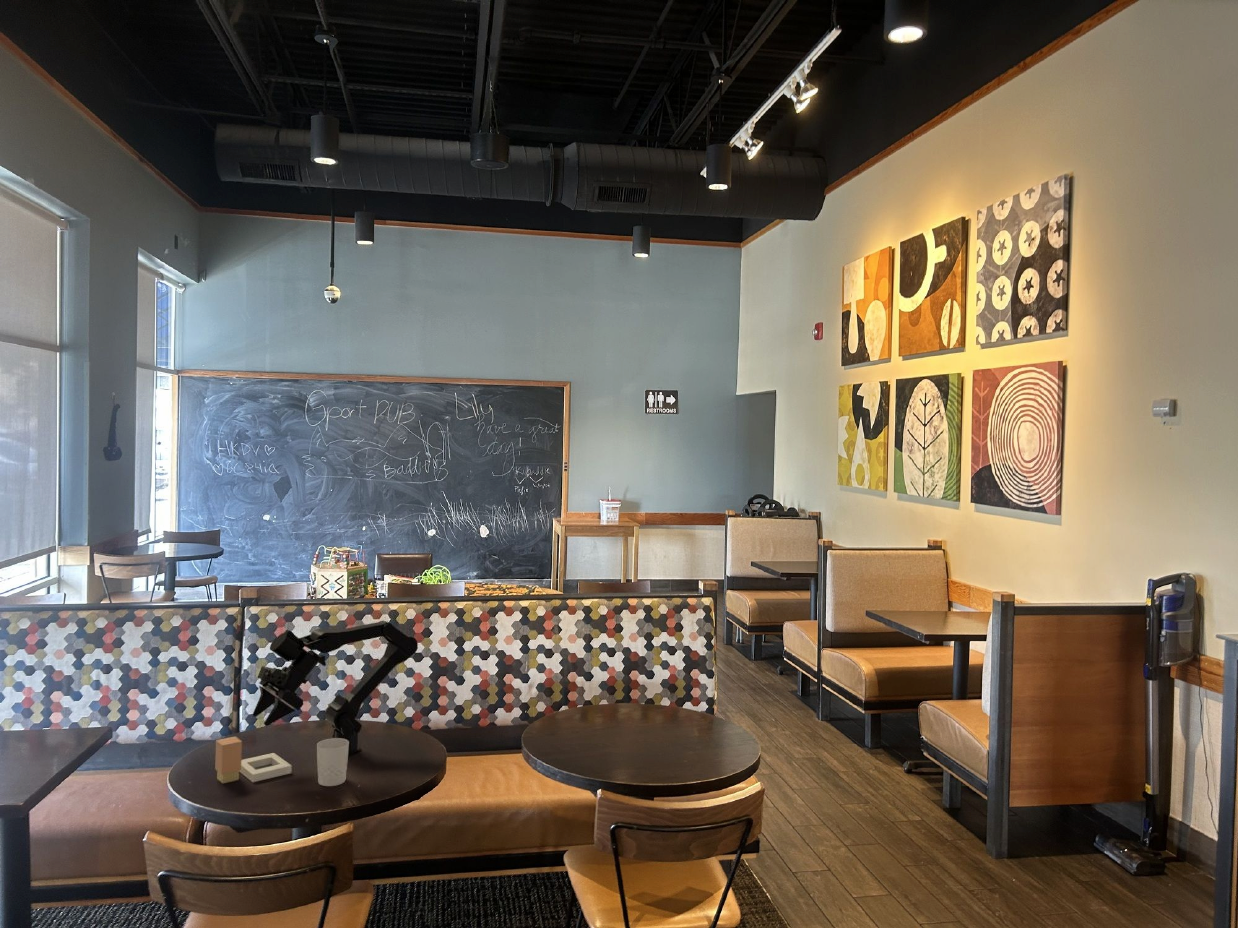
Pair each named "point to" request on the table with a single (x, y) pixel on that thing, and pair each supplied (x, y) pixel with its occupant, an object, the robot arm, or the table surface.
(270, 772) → the socket
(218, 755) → the plug
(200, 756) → the table surface
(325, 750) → the white cup
